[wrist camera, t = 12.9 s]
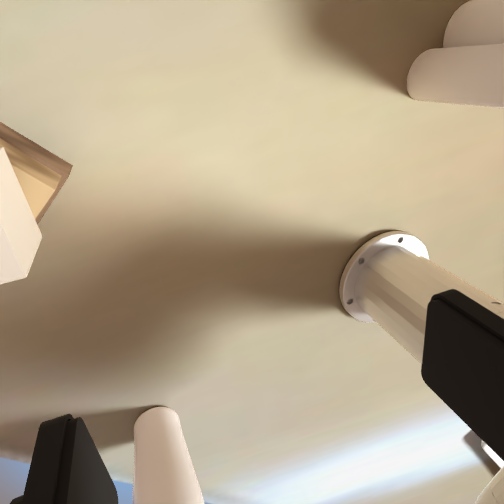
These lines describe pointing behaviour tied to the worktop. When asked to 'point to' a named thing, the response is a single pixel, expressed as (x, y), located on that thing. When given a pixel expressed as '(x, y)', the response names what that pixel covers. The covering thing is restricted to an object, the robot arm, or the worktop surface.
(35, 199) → the brown open tray
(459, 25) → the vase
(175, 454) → the drinking glass
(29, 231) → the cream cube
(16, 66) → the worktop surface
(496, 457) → the square plate
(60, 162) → the tan wooden square tray
